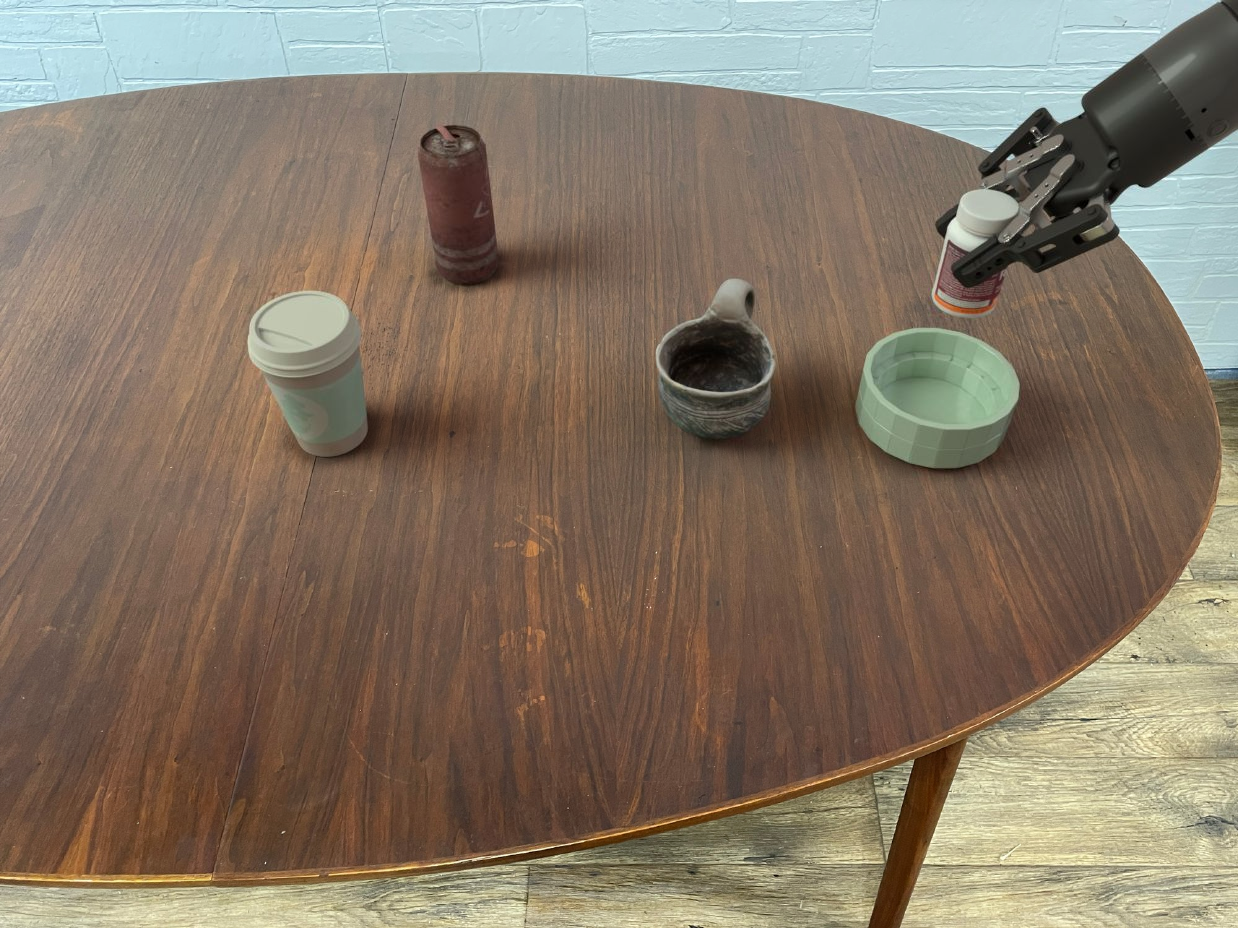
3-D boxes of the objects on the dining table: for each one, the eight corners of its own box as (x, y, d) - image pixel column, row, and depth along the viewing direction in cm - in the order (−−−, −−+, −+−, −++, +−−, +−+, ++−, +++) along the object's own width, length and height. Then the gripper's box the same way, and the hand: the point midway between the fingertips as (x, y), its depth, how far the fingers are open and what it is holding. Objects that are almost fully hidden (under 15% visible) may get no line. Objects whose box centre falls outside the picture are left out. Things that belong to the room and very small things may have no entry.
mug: (645, 450, 85) (646, 357, 78) (667, 352, 94) (670, 260, 87) (763, 464, 84) (775, 371, 77) (774, 363, 93) (787, 271, 85)
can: (474, 241, 106) (457, 113, 96) (511, 270, 103) (498, 140, 92) (424, 265, 103) (401, 136, 93) (460, 295, 100) (440, 164, 90)
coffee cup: (266, 422, 88) (225, 310, 79) (359, 384, 91) (330, 272, 83) (303, 485, 83) (265, 372, 74) (401, 442, 86) (375, 330, 78)
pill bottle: (1002, 320, 77) (1034, 222, 71) (938, 321, 77) (963, 224, 71) (986, 281, 80) (1015, 184, 74) (924, 282, 80) (948, 186, 74)
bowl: (983, 371, 92) (998, 327, 88) (1020, 472, 83) (1037, 428, 80) (844, 372, 92) (853, 328, 88) (867, 473, 83) (878, 429, 80)
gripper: (1115, 8, 69) (901, 171, 78) (1196, 115, 60) (941, 288, 69) (1165, 82, 73) (956, 230, 82) (1250, 195, 63) (1002, 348, 72)
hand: (950, 255), depth 75 cm, fingers closed on pill bottle, 4 cm apart
